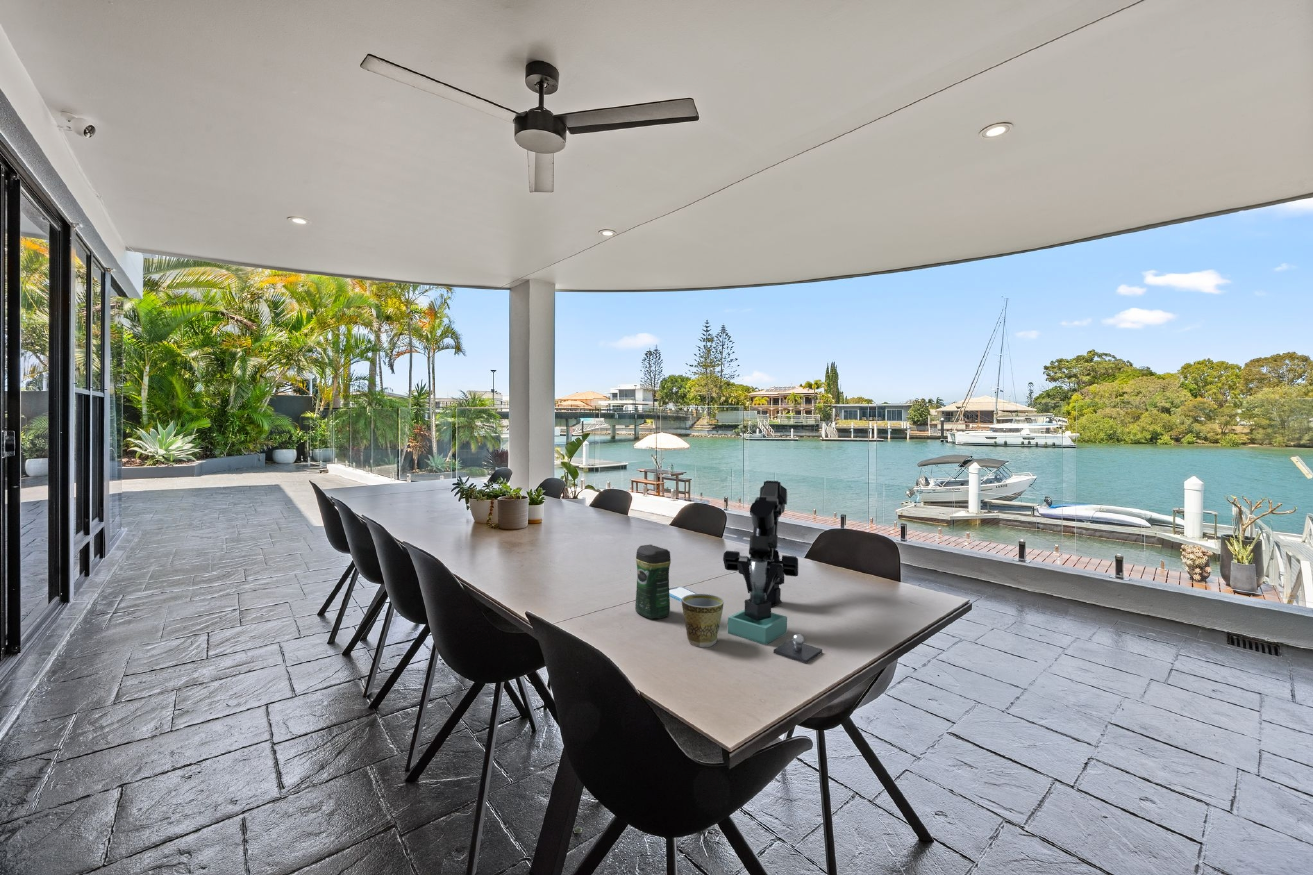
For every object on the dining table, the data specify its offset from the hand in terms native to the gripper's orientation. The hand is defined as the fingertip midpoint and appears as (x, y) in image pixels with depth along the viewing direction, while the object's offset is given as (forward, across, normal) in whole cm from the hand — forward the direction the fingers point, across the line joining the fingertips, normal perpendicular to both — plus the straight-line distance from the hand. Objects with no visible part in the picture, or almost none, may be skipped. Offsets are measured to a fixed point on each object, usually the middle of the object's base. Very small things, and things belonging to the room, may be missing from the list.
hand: (757, 593), depth 134 cm
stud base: (+13, +10, +2) cm, 16 cm away
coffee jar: (+4, -29, +11) cm, 31 cm away
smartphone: (-8, -24, +24) cm, 34 cm away
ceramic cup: (+13, -13, +2) cm, 18 cm away
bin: (+6, 0, +8) cm, 10 cm away
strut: (+3, 0, +5) cm, 6 cm away
